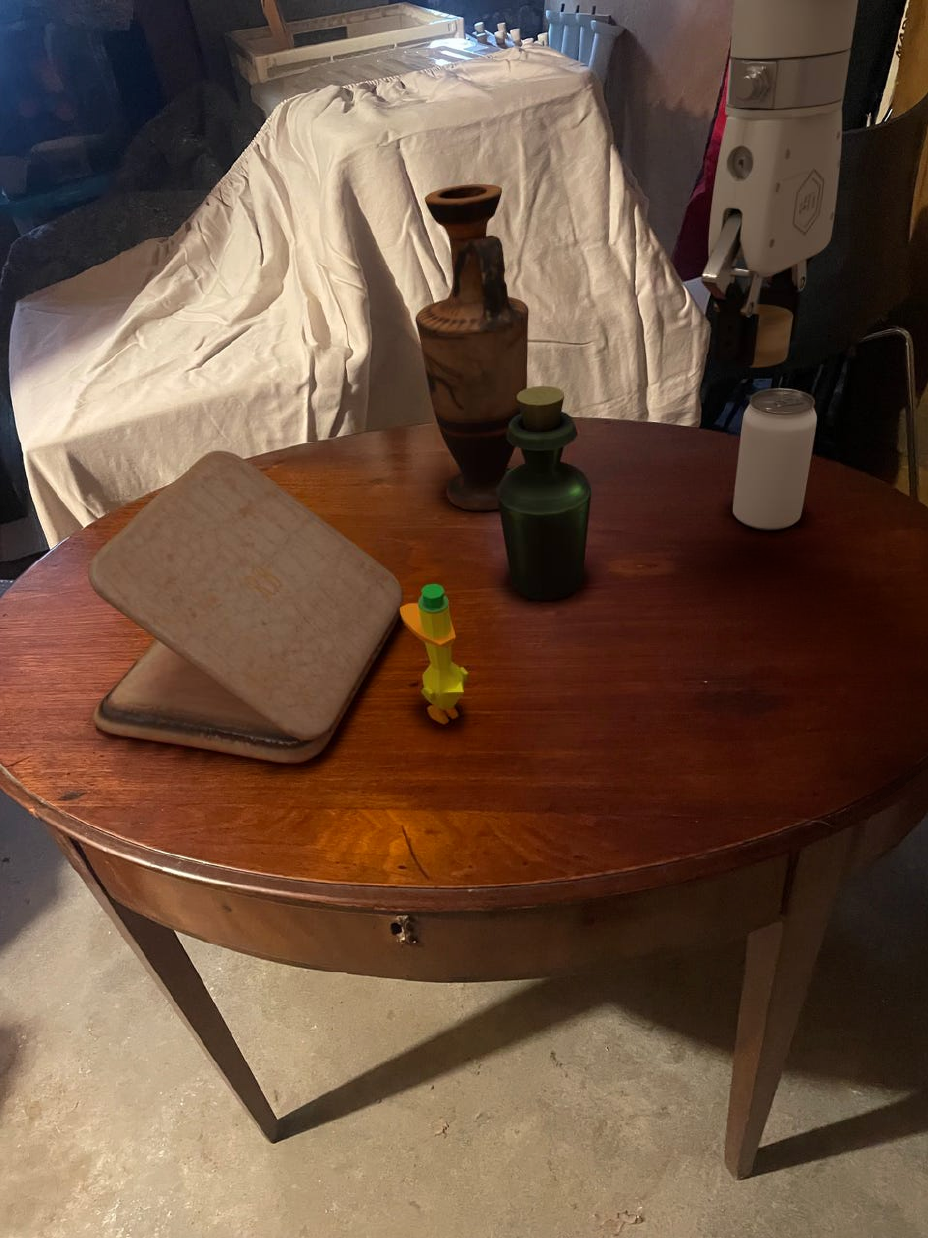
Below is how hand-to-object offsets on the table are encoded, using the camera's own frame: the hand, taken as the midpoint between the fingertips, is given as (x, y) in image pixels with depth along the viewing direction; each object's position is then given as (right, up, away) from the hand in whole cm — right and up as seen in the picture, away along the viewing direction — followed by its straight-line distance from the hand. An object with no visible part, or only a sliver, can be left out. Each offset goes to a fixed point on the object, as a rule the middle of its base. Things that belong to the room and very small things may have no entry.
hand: (754, 349), depth 69 cm
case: (-40, -26, +5) cm, 48 cm away
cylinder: (0, 0, 0) cm, 0 cm away
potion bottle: (-15, -18, +11) cm, 26 cm away
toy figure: (-25, -29, -2) cm, 38 cm away
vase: (-21, -8, +26) cm, 34 cm away
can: (+7, -11, +17) cm, 22 cm away
